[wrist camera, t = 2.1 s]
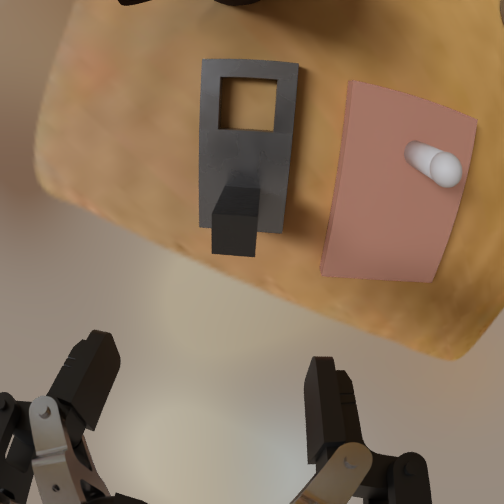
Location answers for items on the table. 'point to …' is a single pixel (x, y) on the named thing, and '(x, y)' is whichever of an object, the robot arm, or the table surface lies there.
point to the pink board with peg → (395, 185)
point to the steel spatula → (244, 158)
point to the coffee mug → (227, 0)
